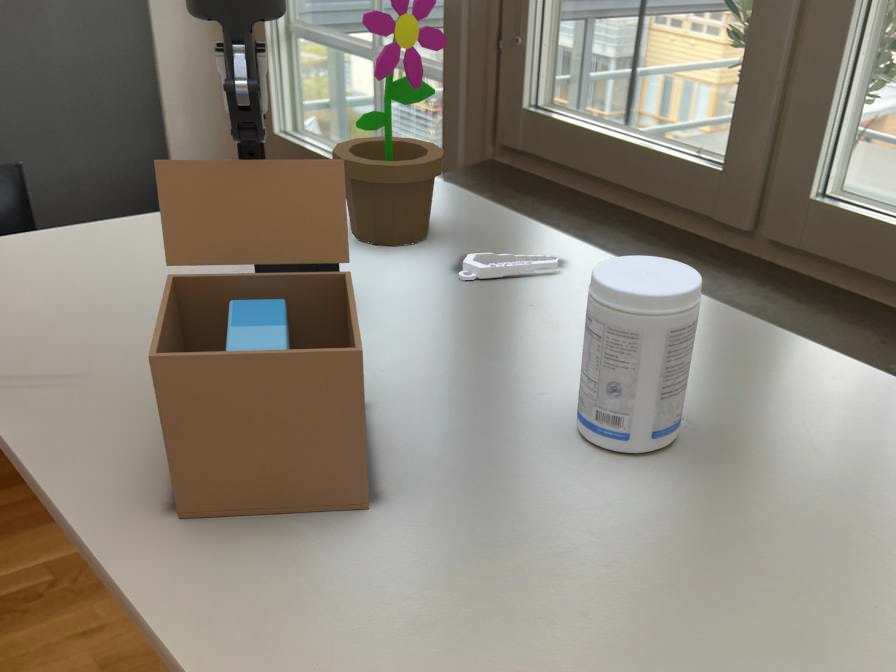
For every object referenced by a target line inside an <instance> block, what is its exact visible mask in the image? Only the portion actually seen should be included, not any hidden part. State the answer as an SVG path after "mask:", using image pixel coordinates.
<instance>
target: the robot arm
mask: <svg viewBox="0 0 896 672" xmlns="http://www.w3.org/2000/svg"><path fill="white" fill-rule="evenodd" d="M185 6H186V10H187V12H188V13H189V15H190V16H192V17H193V18H196V19H198V20H201V21H207V22H213V21H214V22H217V23H218V24H219V25H220V27H221V29H222V40H221V41H218V40H216V41H215V47H214V50H213V51H214V61H215V69H216V72H217V74H218V75H219V77H220V82H221V83H220V84H221V91H222V98H223V107H224V111H225V113H226V114H228V115H229V121H230V127H231V128H230V136H231V137H232V139H233V141H234V144H236V146H237V147H236V148H237V149H236V150H237V157H238V158H237V160H267V154H266V139H267V132H268V131H267V126H265V125H266V124H265V121H266V120H267V115H266V114H267V112H268V111H269V94H268V83H267V74H268V63H269V62H268V61H269V59H268V49H267V48H268V47H267V41H257V39H256V37H257V36H256V29H255V24H256V23H258V22H264V23H266V22H270V21H271V22H272V21H276V20H279V19H281V18H283V17H284V16H285V14H286V12H287V1H286V0H185Z"/></svg>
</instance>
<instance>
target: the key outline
mask: <svg viewBox="0 0 896 672" xmlns="http://www.w3.org/2000/svg"><path fill="white" fill-rule="evenodd" d="M559 261H560V258H559V257H556V256H553V255H550V254H547V255H543V254H538V255H537V254H529V255H528V254H512V253H501V254H498V253H497V254H496V253H494V252H491V251H490V252H480V253H479V252H477V253H468V254H467V255H466V257H464V259H463V261H462V270H461V271H459V272H458V279H459V278H460V279H462V280H474V279H476V280H477V279H480V280H481V279H494V278H503V277H504V276H509V275H521V274H522V273H526V272H534V270H542V269H555V268H556V269H557V267H558V266H559V263H560V262H559ZM460 279H459V280H460ZM462 280H461V281H462ZM474 281H475V280H474Z"/></svg>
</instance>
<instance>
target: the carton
mask: <svg viewBox="0 0 896 672" xmlns="http://www.w3.org/2000/svg"><path fill="white" fill-rule="evenodd" d="M166 275H167V276H166V279H165V284H164V288H163V291H162V297H161V300H160V305H159V310H158V314H157V318H156V322H155V327H154V331H153V335H152V338H151V342H150V347H149V351H148V355H147V357H148V363H149V370H150V375H151V379H152V384H153V385H152V386H153V390H154V395H155V400H156V401H155V402H156V406H157V411H158V416H159V421H160V422H159V423H160V428H161V433H162V438H163V444H164V449H165V454H166V460H167V466H168V471H169V476H170V481H171V486H172V491H173V492H172V493H173V498H174V503H175V508H176V513H177V518H178V519H196V518H214V517H215V518H216V517H234V516H236V517H237V516H253V515H254V516H255V515H275V514H294V513H295V514H297V513H312V512H333V511H352V510H354V511H355V510H369V509H370V497H369V495H370V493H369V473H368V472H369V471H368V470H369V469H368V450H367V449H368V447H367V445H368V444H367V422H366V399H365V397H366V396H365V378H364V377H365V373H364V370H365V369H364V353H363V352H364V350H363V343H362V337H361V330H360V329H361V328H360V324H359V317H358V316H359V315H358V310H357V304H356V298H355V297H356V296H355V290H354V285H353V284H354V283H353V278H352V272H351V271H340V272H288V273H255V272H240V273H237V272H236V273H234V272H233V273H179V274H171V273H170V274H166ZM264 299H284V300H285V301H286V307H287V318H288V330H289V341H290V349H288V350H252V351H226V342H227V329H228V315H229V303H230V301H232V300H264Z"/></svg>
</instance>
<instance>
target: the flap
mask: <svg viewBox="0 0 896 672" xmlns="http://www.w3.org/2000/svg"><path fill="white" fill-rule="evenodd" d="M153 163H154V173H155V181H156V188H157V199H158V206H159V216H160V223H161V233H162V240H163V241H162V242H163V247H164V248H163V249H164V257H165V266H166V267H189V266H191V267H193V266H194V267H196V266H252V265H253V266H254V265H260V264H323V263H339V264H350V259H351V258H350V243H349V229H348V228H349V227H348V225H349V224H348V207H347V201H346V191H345V174H344V160H332V159H266V160H239V159H154V160H153Z"/></svg>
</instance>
